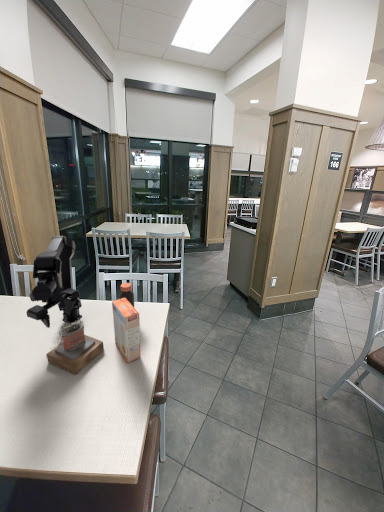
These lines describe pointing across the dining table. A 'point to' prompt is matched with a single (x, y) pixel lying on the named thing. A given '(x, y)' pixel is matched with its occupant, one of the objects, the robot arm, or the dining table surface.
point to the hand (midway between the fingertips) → (58, 320)
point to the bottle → (127, 293)
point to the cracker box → (126, 329)
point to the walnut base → (75, 355)
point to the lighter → (73, 336)
